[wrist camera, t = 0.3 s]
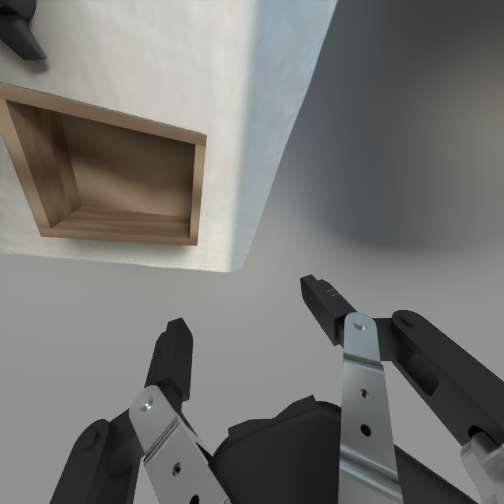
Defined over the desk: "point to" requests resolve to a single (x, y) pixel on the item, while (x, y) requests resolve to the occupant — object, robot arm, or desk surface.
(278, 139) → the desk surface
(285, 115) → the desk surface
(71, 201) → the walled box
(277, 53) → the desk surface
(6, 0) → the black wing nut
